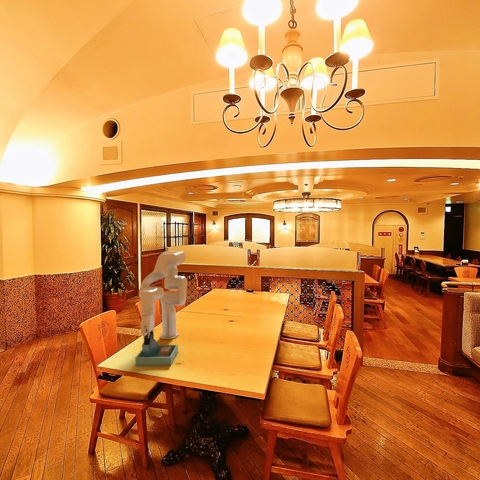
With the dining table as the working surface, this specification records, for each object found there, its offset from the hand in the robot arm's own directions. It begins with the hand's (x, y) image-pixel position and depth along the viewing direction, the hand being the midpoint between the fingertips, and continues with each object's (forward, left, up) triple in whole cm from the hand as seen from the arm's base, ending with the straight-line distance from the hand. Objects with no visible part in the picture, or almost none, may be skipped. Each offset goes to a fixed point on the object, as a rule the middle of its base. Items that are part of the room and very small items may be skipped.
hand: (148, 341), depth 146 cm
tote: (0, +5, -10) cm, 11 cm away
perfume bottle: (0, +1, -8) cm, 8 cm away
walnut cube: (0, +9, -9) cm, 13 cm away
